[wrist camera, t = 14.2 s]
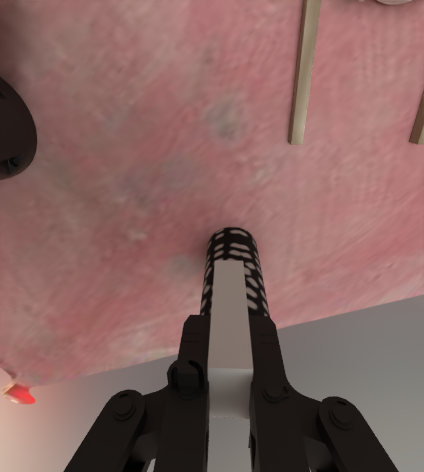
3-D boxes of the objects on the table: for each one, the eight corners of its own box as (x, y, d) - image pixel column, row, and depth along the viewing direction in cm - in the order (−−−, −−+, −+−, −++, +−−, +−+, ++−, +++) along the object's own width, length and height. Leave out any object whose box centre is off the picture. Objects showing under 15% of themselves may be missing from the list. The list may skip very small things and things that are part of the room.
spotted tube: (265, 256, 49) (286, 352, 31) (223, 276, 51) (221, 376, 34) (241, 218, 46) (251, 301, 28) (198, 241, 48) (181, 330, 30)
